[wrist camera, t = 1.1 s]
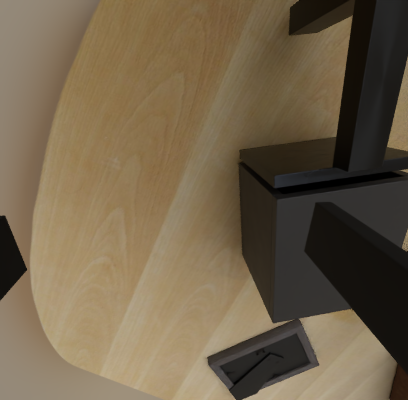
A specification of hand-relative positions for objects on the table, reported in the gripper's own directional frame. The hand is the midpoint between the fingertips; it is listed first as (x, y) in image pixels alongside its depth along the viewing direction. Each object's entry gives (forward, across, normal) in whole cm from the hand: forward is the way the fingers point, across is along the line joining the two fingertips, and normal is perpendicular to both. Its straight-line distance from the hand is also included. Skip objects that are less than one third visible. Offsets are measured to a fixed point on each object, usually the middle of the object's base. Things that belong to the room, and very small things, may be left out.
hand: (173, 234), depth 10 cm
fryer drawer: (+21, +16, -1) cm, 26 cm away
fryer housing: (+21, +16, -10) cm, 29 cm away
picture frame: (+21, +18, -48) cm, 55 cm away
